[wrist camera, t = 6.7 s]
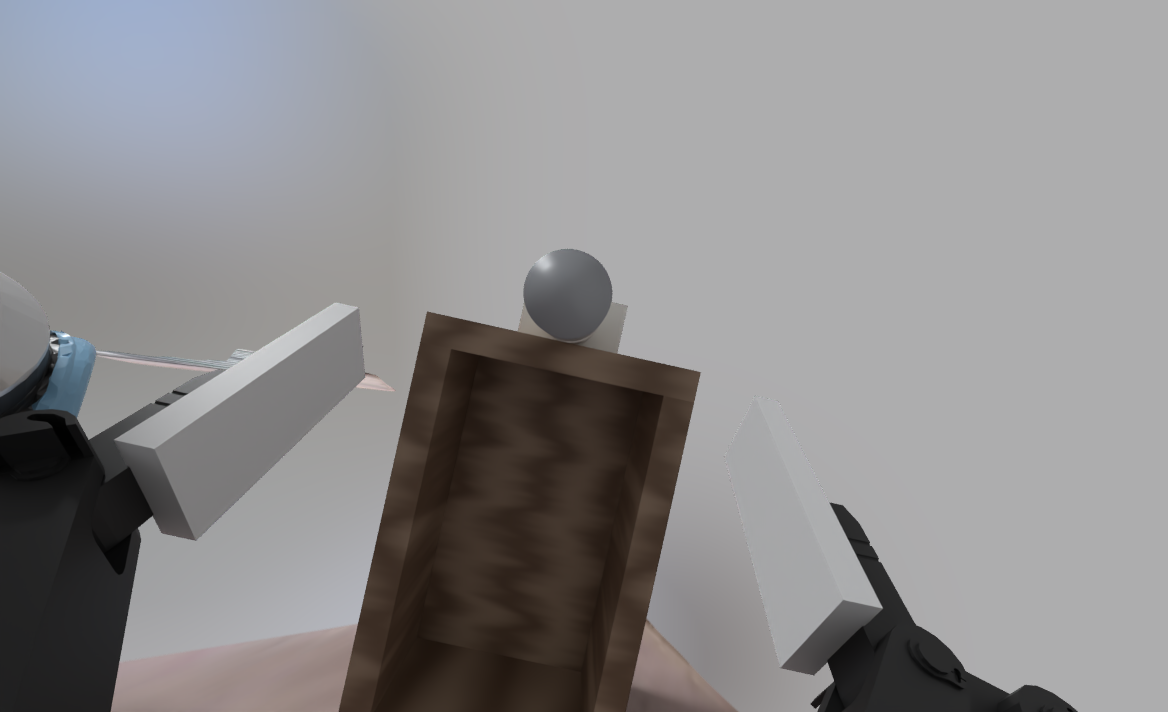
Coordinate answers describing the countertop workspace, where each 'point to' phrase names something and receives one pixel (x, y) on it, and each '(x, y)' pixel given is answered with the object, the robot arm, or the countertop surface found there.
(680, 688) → the countertop surface
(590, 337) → the knob
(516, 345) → the open wooden box
